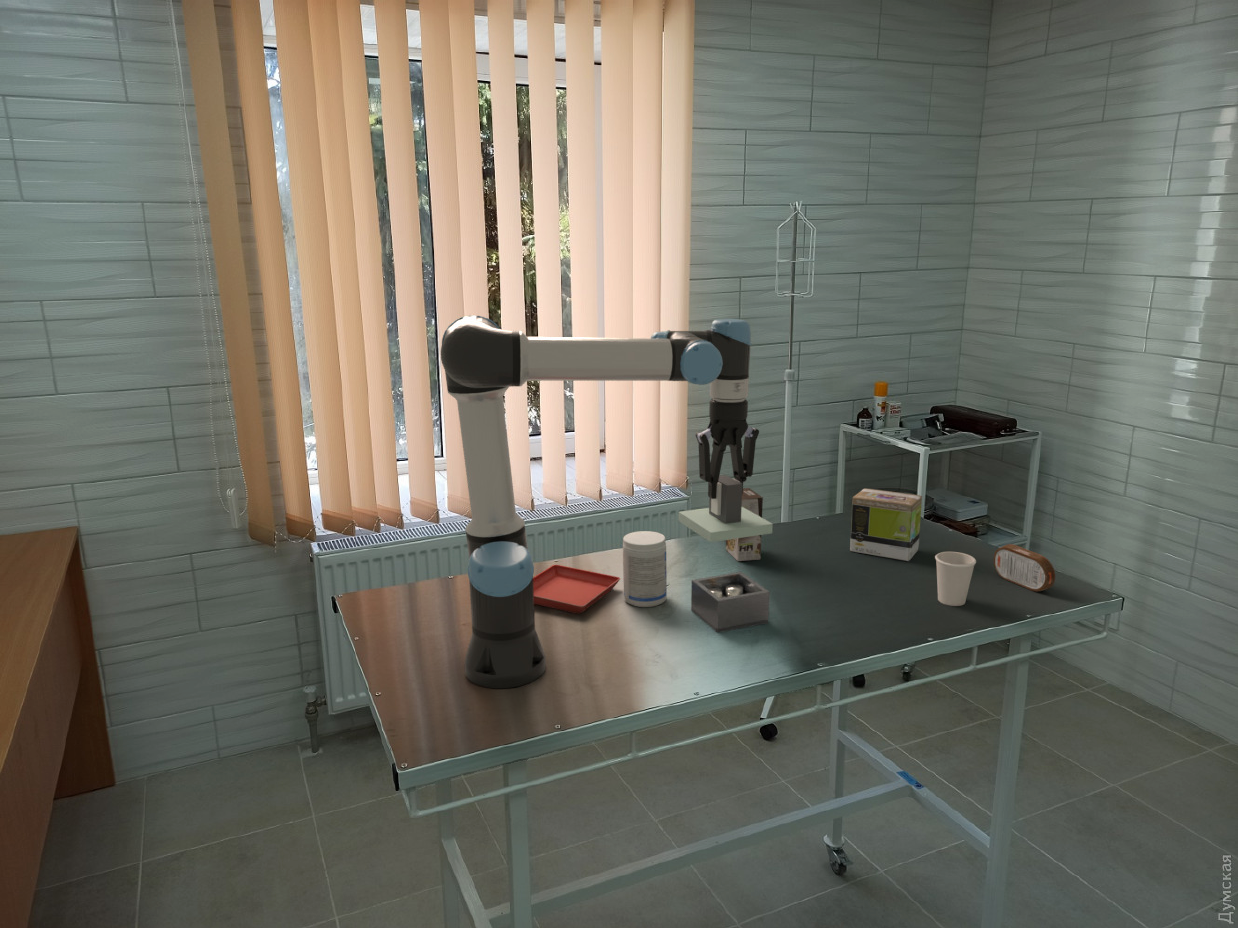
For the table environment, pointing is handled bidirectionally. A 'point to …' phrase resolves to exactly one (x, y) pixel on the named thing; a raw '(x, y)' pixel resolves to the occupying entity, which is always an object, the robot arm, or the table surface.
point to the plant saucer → (571, 588)
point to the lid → (726, 516)
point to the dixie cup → (953, 577)
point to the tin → (1024, 567)
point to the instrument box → (730, 601)
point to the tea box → (885, 524)
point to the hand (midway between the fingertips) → (724, 511)
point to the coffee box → (750, 545)
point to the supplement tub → (644, 568)
